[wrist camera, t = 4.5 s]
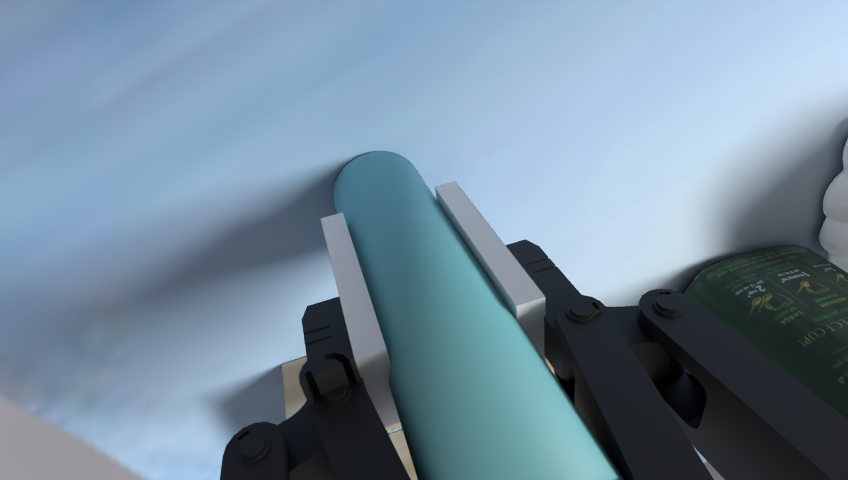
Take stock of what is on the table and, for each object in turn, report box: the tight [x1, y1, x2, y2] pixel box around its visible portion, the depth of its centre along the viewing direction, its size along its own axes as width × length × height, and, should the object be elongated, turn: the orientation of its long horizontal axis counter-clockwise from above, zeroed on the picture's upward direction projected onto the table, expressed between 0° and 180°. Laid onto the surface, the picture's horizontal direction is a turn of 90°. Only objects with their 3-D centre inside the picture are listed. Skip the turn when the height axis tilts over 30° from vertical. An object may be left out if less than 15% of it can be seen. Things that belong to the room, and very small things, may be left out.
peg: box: [333, 151, 625, 480], centre depth 15 cm, size 4×4×14 cm
